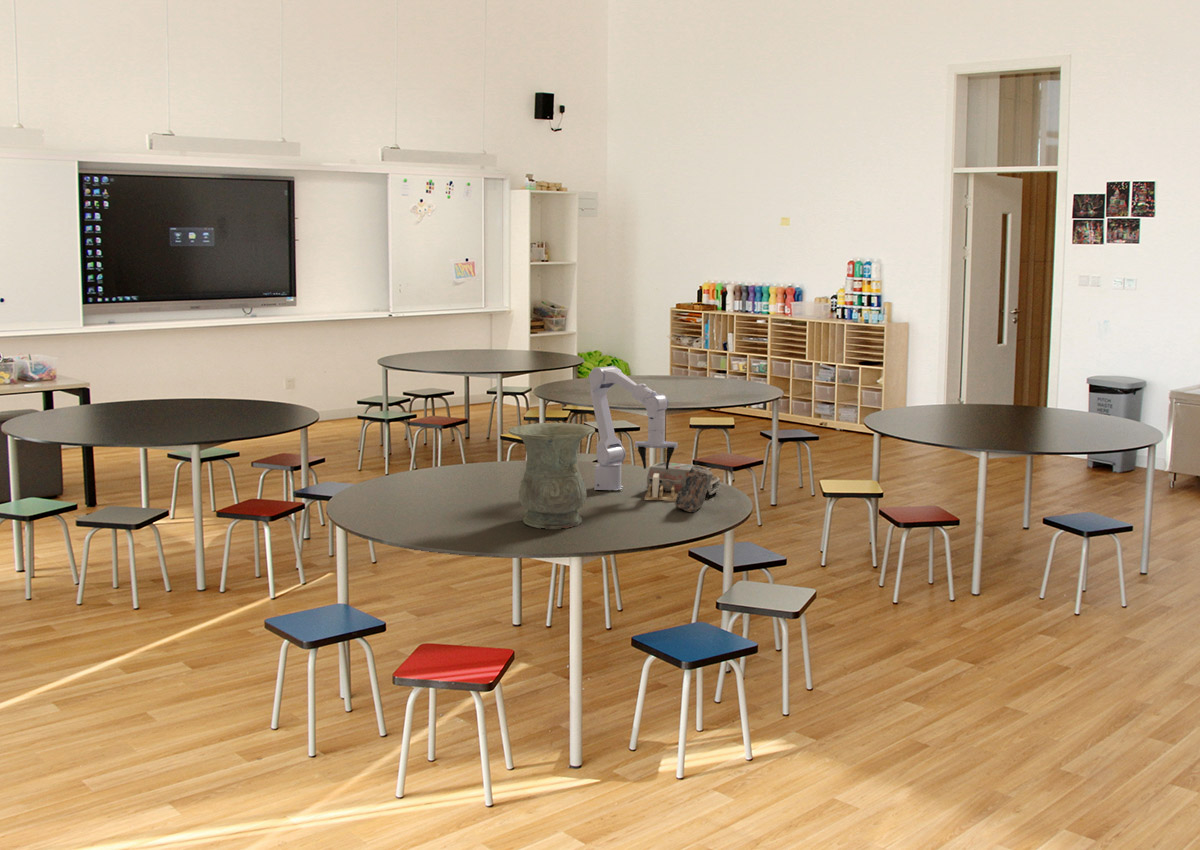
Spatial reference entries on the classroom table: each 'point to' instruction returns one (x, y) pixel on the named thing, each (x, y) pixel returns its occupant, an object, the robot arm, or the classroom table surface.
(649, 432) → the robot arm
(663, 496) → the rack
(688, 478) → the stone
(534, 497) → the vessel
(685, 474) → the toy car
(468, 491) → the classroom table surface
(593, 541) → the classroom table surface
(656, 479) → the tall cream block
